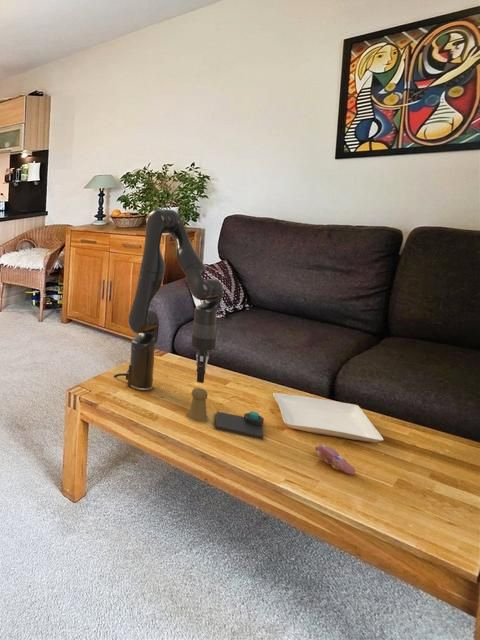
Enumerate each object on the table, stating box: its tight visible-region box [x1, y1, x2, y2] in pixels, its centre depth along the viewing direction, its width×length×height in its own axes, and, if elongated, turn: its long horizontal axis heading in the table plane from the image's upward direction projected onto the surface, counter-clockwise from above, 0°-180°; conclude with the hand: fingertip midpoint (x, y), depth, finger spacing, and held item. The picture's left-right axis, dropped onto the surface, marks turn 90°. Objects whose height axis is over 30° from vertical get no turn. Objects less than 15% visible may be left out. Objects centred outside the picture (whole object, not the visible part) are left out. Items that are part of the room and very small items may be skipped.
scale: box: [215, 411, 265, 441], centre depth 167 cm, size 14×13×3 cm
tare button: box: [248, 411, 260, 420], centre depth 167 cm, size 3×3×2 cm
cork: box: [188, 387, 208, 423], centre depth 172 cm, size 6×6×11 cm
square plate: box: [272, 392, 384, 443], centre depth 169 cm, size 27×27×4 cm
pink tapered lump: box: [314, 443, 356, 475], centre depth 143 cm, size 10×5×7 cm, turn 5°
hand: (201, 378), depth 171 cm, fingers open, 8 cm apart
